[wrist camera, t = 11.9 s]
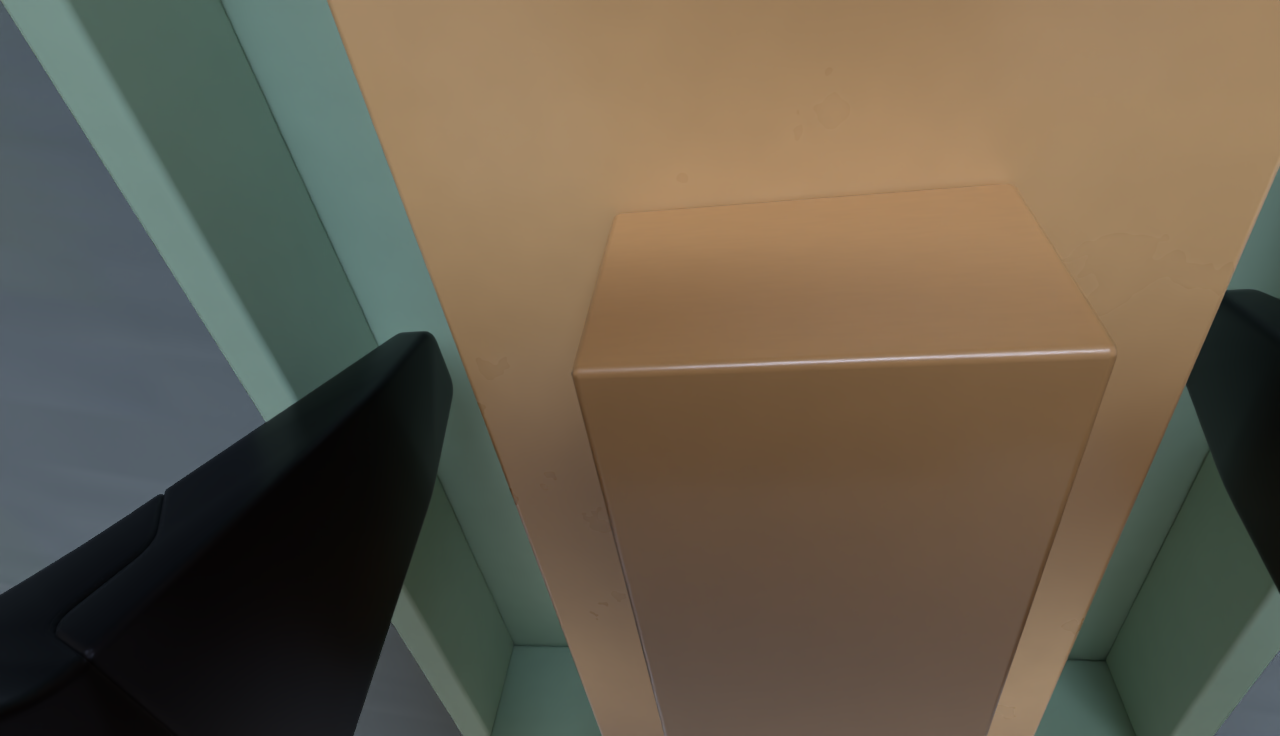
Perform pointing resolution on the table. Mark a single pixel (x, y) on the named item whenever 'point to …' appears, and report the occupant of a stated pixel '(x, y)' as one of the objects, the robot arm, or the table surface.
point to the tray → (469, 467)
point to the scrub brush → (824, 321)
